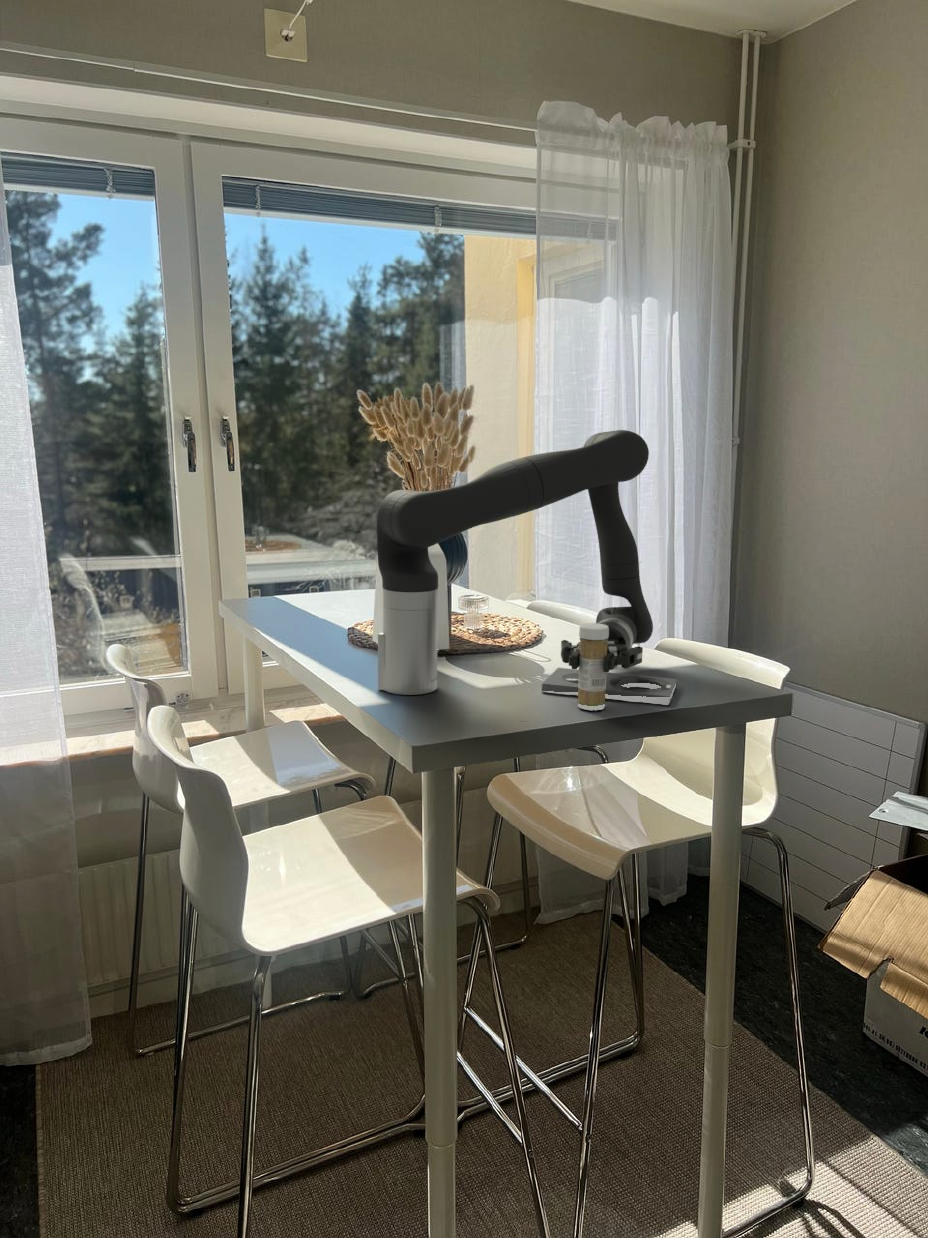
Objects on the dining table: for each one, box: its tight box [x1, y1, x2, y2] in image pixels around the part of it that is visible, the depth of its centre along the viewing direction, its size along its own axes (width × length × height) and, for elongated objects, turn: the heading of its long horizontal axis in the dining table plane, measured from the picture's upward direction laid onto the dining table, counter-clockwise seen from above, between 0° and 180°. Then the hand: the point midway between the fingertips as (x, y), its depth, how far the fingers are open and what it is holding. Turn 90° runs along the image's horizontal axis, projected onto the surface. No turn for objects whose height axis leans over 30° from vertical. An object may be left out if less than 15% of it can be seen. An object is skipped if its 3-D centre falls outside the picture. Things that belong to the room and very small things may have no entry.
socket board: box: [541, 667, 678, 697], centre depth 155 cm, size 21×12×2 cm, turn 71°
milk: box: [371, 543, 450, 650], centre depth 183 cm, size 12×12×26 cm
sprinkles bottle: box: [577, 622, 609, 706], centre depth 143 cm, size 5×5×14 cm
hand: (590, 664), depth 140 cm, fingers closed on sprinkles bottle, 4 cm apart
